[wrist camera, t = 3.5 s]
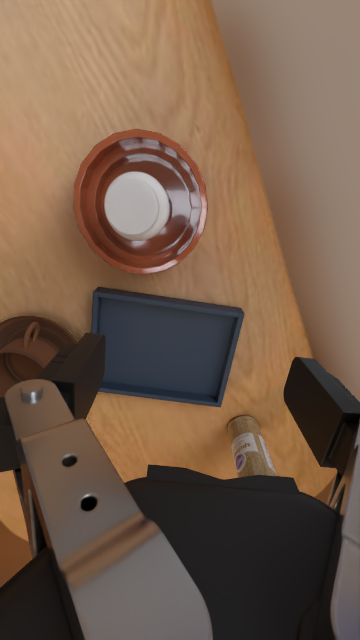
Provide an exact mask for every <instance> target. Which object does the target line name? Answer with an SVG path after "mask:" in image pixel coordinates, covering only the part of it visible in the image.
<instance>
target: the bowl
mask: <svg viewBox="0 0 360 640" xmlns="http://www.w3.org/2000/svg"><path fill="white" fill-rule="evenodd" d="M127 172H142V173H146V174H148V175H150V176H152V177H153V178H155V179H156V180H157V181H158V182H159V183H160V184H161V185H162V187H163V188H164V189H165V191H166V192H167V194H168V196H169V199H170V203H171V214H170V218H169V220H168V222H167V224H166V225H165V227H164V228H163V229H162V230H161V231H160V232H159V233H158V234H157V235H155V236H154V237H152V238H150V239H147V240H143V241H134V240H129V239H127V238H124V237H123V236H121V235H119V234H118V233H117V232H116V231H115V230H114V229H113V228H112V226H111V225H110V223H109V222H108V220H107V217H106V214H105V209H104V200H105V195H106V192H107V189H108V187H109V186H110V184H111V183H112V182H113V181H114V180H115V179H116V178H117V177H118V176H120V175H122V174H124V173H127ZM207 207H208V204H207V195H206V187H205V183H204V181H203V178H202V176H201V174H200V171H199V169H198V167H197V165H196V163H195V161H194V160H193V159H192V158H191V157H190V156H189V155H188V153H187V152H186V151H185V150H184V149H183V148H182V146H180V145H179V144H178V143H176V142H174V141H173V140H171V139H169V138H168V137H166V136H164V135H162V134H161V133H157V132H152V131H146V130H141V129H133V130H128V131H123V132H117V133H114V134H112V135H111V136H109V137H108V138H106V139H104V140H103V141H101V142H100V143H98V144H96V145H95V146H94V148H93V149H92V150H91V151H90V153H89V154H88V155H87V157H86V158H85V159H84V161H83V162H82V164H81V166H80V169H79V172H78V175H77V178H76V181H75V184H74V211H75V215H76V218H77V222H78V226H79V229H80V231H81V233H82V234H83V236H84V238H85V239H86V241H87V243H88V244H89V246H90V247H91V249H92V250H93V251H95V252H96V253H97V254H98V255H99V256H100V257H101V258H102V259H103V260H104V261H105V262H107V263H109V264H111V265H113V266H115V267H117V268H119V269H121V270H123V271H126V272H132V273H139V274H149V273H155V272H161V271H164V270H166V269H168V268H170V267H172V266H174V265H176V264H178V263H180V262H181V261H182V260H183V259H184V258H185V257H186V256H187V255H188V254H189V253H190V252H191V251H192V250H193V249H194V248H195V246H196V244H197V242H198V240H199V238H200V236H201V234H202V232H203V230H204V227H205V221H206V216H207V210H208V208H207Z"/></svg>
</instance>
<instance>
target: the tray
mask: <svg viewBox="0 0 360 640" xmlns="http://www.w3.org/2000/svg"><path fill="white" fill-rule="evenodd" d="M243 317H244V313H243V311H242V309H241V308H236V307H230V306H223V305H216V304H209V303H203V302H196V301H189V300H183V299H176V298H169V297H163V296H156V295H149V294H142V293H136V292H129V291H122V290H116V289H109V288H102V287H98V288H97V289H95V290H94V291H93V310H92V330H91V334H100V335H105V338H106V345H105V371H104V377H103V381H102V384H101V386H100V388H99V391H98V392H105V393H113V394H121V395H128V396H136V397H144V398H152V399H160V400H167V401H175V402H183V403H191V404H199V405H207V406H214V407H221V404H222V400H223V396H224V392H225V388H226V384H227V380H228V376H229V372H230V369H231V365H232V361H233V357H234V353H235V349H236V345H237V341H238V337H239V333H240V329H241V325H242V321H243Z"/></svg>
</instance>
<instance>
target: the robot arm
mask: <svg viewBox="0 0 360 640" xmlns="http://www.w3.org/2000/svg"><path fill="white" fill-rule="evenodd" d="M105 345H106V338H105V335H100V334H91V333H86V334H85V335H84V336H83V338H82V339H81V340H80V342H79V343H78V344H75V343H71V344H69V345H67V346H65V347H63V348H61V349H60V350H59V351H58V353H57V354H56V355H55V357H53V358H52V360H51V361H50V362H49V363H48V364H47V365H46V367H45V368H44V369H43V370H42V371H41V372H40V374H39V375H38V376H37V377H36V378H35V379H32V380H26V381H23V382H20V383H17V384H15V385H14V386H12V387H11V388H9V389H8V390H7V392H6V393H5V396H4V397H0V472H4V471H9V470H13V473H14V477H15V481H16V486H17V490H18V494H19V498H20V502H21V506H22V510H23V514H24V518H25V522H26V527H27V533H28V539H29V545H30V550H31V555H32V560H31V561H30V562H29V563H28V564H26V565H25V566H24V567H23V568H22V569H21V570H20V571H19V572H17V573H16V574H15V575H14V576H13V577H12V578H11V579H10V580H9V581H7V582H6V583H5V584H4V585H3V586H2V587H1V588H0V640H360V402H359V401H358V400H357V399H356V398H355V397H354V396H353V395H351V393H350V392H349V391H348V389H347V388H345V386H344V385H343V384H342V383H341V382H340V381H339V380H338V379H337V378H335V377H334V376H332V375H331V374H329V373H328V372H326V371H325V369H324V368H323V367H322V366H321V365H320V364H319V363H318V362H317V361H316V360H315V359H310V358H301V357H295V358H294V360H293V361H292V364H291V368H290V371H289V374H288V377H287V381H286V384H285V387H284V401H285V403H286V405H287V407H288V409H289V411H290V412H291V414H292V416H293V418H294V420H295V421H296V423H297V425H298V427H299V429H300V431H301V432H302V434H303V436H304V438H305V440H306V441H307V443H308V445H309V447H310V449H311V450H312V452H313V454H314V456H315V458H316V460H317V461H318V463H319V465H320V467H330V468H336V469H337V473H336V475H335V477H334V480H333V484H332V488H331V491H330V495H329V498H328V502H327V505H326V504H325V503H323V502H321V501H320V500H317V499H316V498H314V497H312V496H310V495H307V494H305V493H303V492H300V491H299V490H298V488H297V485H296V483H295V481H294V478H290V477H279V476H268V475H253V476H246V477H240V478H233V479H227V480H222V479H218V478H215V477H212V476H209V475H205V474H202V473H199V472H196V471H193V470H190V469H187V468H181V467H170V466H159V465H148V471H147V477H143V478H138V479H134V480H131V481H128V482H126V483H124V482H123V481H122V479H121V477H120V476H119V474H118V472H117V471H116V469H115V467H114V466H113V464H112V462H111V461H110V459H109V457H108V456H107V454H106V452H105V451H104V449H103V447H102V446H101V444H100V442H99V441H98V439H97V437H96V436H95V434H94V432H93V431H92V429H91V427H90V426H89V424H88V422H87V421H86V420H85V419H86V417H87V415H88V413H89V411H90V408H91V406H92V404H93V402H94V399H95V397H96V395H97V393H98V391H99V388H100V386H101V384H102V381H103V377H104V371H105Z"/></svg>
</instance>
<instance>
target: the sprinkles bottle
mask: <svg viewBox="0 0 360 640" xmlns="http://www.w3.org/2000/svg"><path fill="white" fill-rule="evenodd" d="M227 430H228V435H229V437H230V441H231V446H232V452H233V457H234V461H235V466H236V469H237V473H238V477H239V478H240V477H246V476H253V475H268V476H276V472H275V470H274V467H273V464H272V461H271V458H270V456H269V453H268V451H267V448H266V445H265V442H264V440H263V438H262V436H261V433H260V430H259V425H258V423H257V421H256V420H255V419H253V418H252V417H250V416H239V417H236V418H234V419H233V420H232V421H231V422H230V423H229V424H228V428H227Z"/></svg>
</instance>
